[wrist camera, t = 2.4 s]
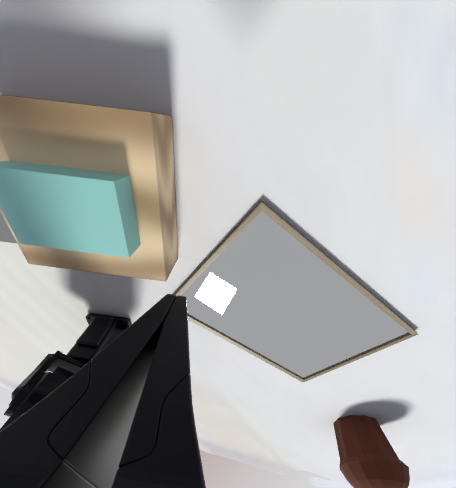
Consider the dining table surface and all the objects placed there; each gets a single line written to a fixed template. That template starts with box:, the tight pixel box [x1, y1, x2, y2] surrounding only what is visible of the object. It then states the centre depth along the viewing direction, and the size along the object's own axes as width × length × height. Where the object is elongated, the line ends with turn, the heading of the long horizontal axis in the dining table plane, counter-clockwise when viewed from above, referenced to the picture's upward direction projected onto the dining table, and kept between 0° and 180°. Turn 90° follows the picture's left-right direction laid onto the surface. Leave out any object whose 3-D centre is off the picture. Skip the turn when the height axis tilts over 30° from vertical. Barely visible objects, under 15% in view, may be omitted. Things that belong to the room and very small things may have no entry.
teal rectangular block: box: [0, 160, 141, 258], centre depth 15 cm, size 6×9×2 cm, turn 84°
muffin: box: [334, 415, 410, 488], centre depth 38 cm, size 12×11×10 cm
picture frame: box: [174, 201, 418, 382], centre depth 26 cm, size 19×1×28 cm
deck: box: [0, 95, 178, 281], centre depth 17 cm, size 14×14×4 cm
